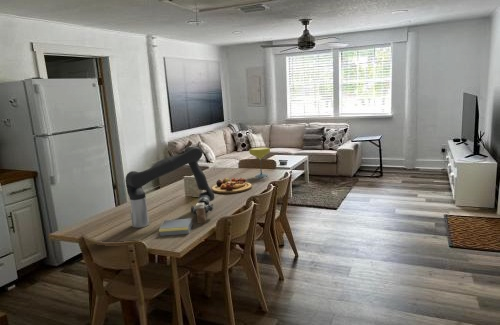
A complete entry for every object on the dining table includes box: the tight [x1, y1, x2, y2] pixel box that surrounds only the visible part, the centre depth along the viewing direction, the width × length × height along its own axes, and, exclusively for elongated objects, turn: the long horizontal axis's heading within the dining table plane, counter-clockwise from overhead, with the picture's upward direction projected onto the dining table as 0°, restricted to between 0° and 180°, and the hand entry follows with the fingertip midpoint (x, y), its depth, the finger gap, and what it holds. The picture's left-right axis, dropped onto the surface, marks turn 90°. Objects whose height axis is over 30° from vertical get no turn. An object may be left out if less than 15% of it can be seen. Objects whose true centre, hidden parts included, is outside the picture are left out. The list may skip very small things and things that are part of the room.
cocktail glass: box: [248, 146, 271, 178], centre depth 332 cm, size 18×18×25 cm
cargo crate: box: [195, 202, 207, 224], centre depth 227 cm, size 4×4×11 cm
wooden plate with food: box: [211, 177, 253, 194], centre depth 299 cm, size 32×32×8 cm
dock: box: [158, 218, 193, 237], centre depth 216 cm, size 16×15×4 cm
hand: (200, 212), depth 225 cm, fingers open, 6 cm apart
